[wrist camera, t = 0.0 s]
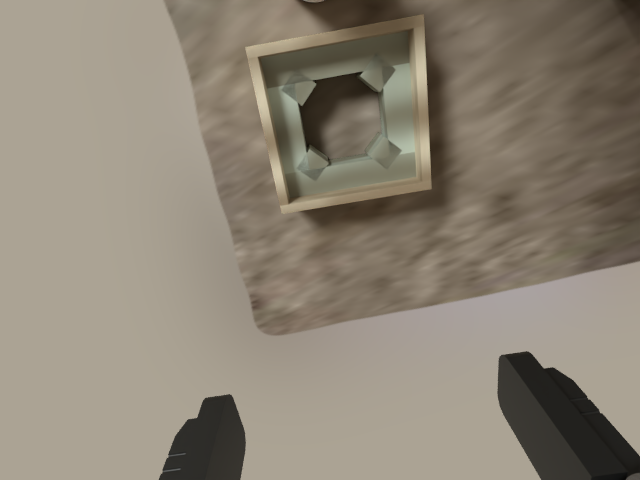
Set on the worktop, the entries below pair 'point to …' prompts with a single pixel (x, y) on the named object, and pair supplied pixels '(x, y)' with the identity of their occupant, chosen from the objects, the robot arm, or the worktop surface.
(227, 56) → the worktop surface
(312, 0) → the can
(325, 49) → the bore box
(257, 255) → the worktop surface
